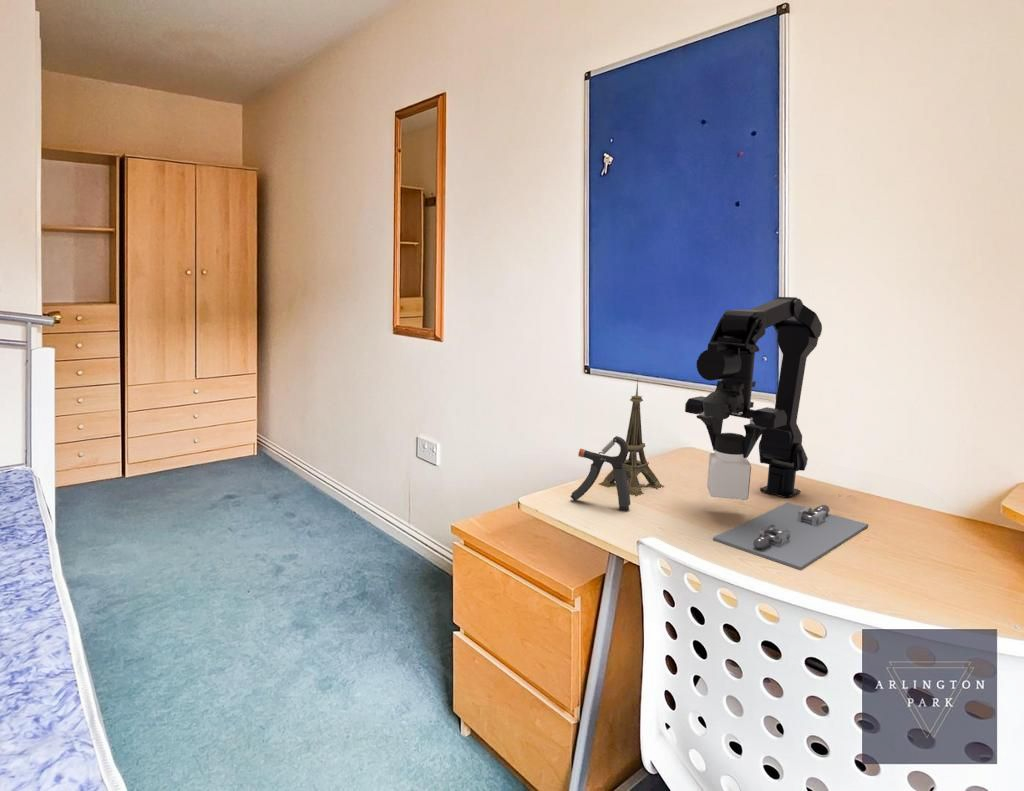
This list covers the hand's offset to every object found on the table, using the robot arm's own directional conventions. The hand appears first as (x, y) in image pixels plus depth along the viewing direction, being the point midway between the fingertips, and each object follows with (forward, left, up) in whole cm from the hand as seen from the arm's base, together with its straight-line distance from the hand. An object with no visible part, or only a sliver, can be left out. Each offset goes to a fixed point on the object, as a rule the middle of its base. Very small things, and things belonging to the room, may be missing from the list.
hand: (730, 454), depth 128 cm
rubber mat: (-2, +13, -13) cm, 18 cm away
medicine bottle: (0, 0, -8) cm, 8 cm away
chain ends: (-2, +13, -13) cm, 18 cm away
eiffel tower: (-1, -24, -13) cm, 27 cm away
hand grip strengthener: (+15, -20, -13) cm, 28 cm away
